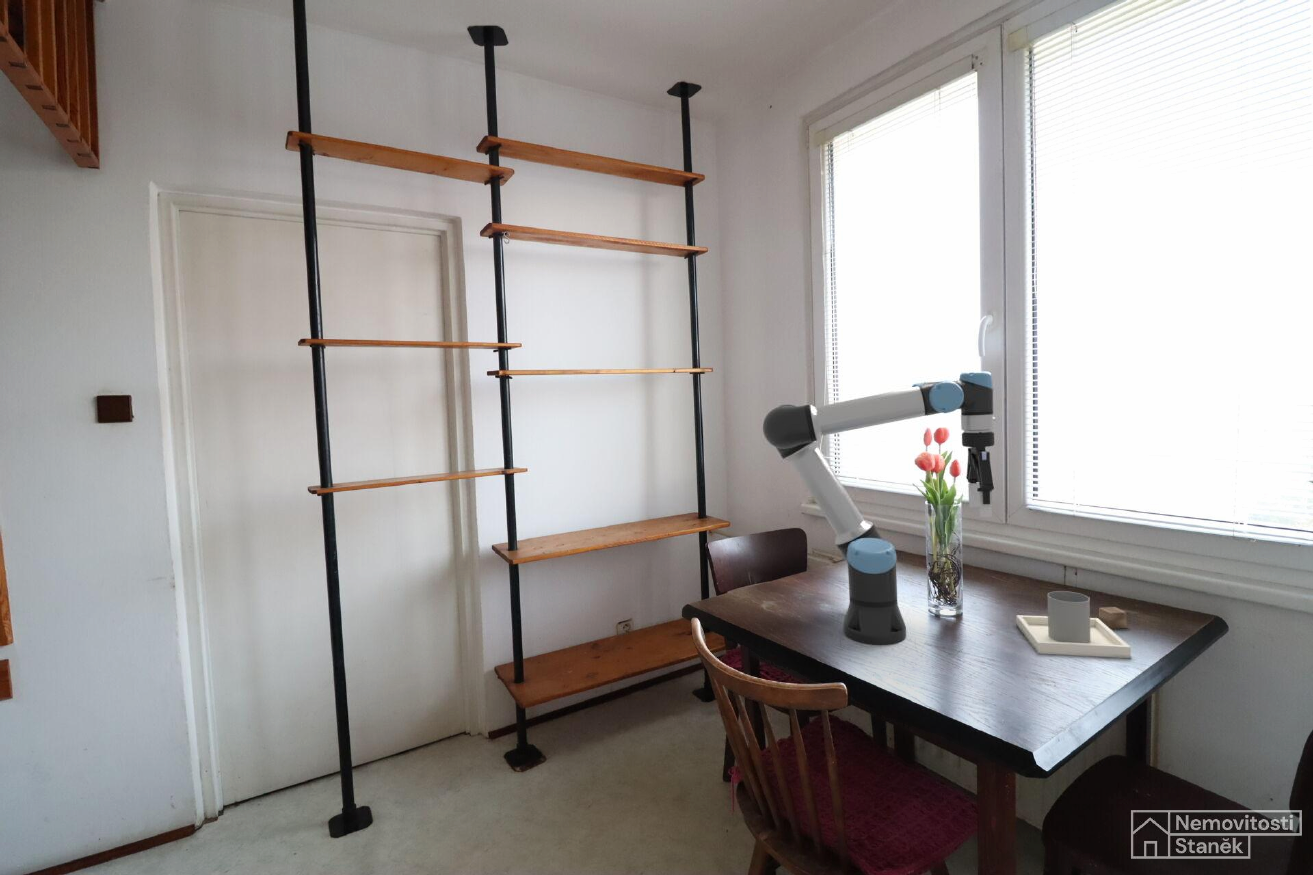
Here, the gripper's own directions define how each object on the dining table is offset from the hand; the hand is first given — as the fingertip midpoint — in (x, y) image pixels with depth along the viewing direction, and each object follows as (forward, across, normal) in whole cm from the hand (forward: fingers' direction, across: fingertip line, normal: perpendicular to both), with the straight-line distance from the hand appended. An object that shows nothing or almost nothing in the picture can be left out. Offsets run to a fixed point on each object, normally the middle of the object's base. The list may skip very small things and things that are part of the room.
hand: (980, 511), depth 162 cm
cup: (+28, -12, -16) cm, 35 cm away
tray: (+29, -12, -16) cm, 35 cm away
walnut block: (+29, -1, -29) cm, 41 cm away
